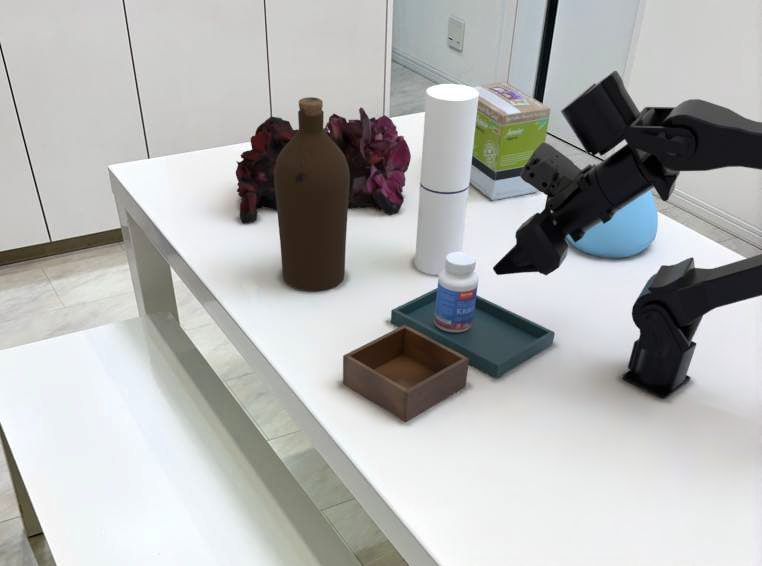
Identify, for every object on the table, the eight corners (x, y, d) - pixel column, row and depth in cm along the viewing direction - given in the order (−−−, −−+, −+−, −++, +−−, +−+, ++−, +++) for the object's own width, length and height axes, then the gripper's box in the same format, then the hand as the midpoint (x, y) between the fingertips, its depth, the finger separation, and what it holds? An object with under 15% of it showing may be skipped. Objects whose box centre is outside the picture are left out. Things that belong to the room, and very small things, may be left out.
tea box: (449, 171, 162) (457, 86, 152) (495, 163, 165) (506, 79, 155) (491, 202, 152) (502, 113, 142) (539, 193, 155) (553, 105, 145)
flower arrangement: (247, 234, 141) (240, 139, 131) (223, 187, 155) (215, 97, 144) (424, 213, 148) (431, 121, 138) (387, 170, 162) (391, 83, 151)
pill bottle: (457, 338, 118) (465, 271, 111) (426, 324, 121) (431, 258, 114) (480, 323, 121) (488, 257, 114) (449, 310, 124) (455, 245, 117)
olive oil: (355, 290, 129) (359, 111, 111) (285, 297, 127) (278, 117, 109) (339, 257, 136) (340, 85, 118) (273, 264, 134) (264, 90, 116)
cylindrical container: (407, 268, 134) (417, 95, 116) (426, 250, 138) (439, 80, 121) (449, 279, 131) (466, 104, 114) (467, 260, 136) (486, 89, 119)
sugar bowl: (543, 228, 145) (555, 157, 137) (619, 216, 149) (635, 146, 141) (590, 267, 135) (607, 194, 127) (671, 253, 139) (692, 181, 131)
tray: (552, 345, 118) (555, 332, 117) (496, 378, 112) (498, 365, 111) (447, 294, 128) (449, 281, 127) (390, 322, 122) (391, 309, 120)
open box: (465, 386, 111) (469, 358, 108) (405, 422, 105) (407, 393, 102) (402, 352, 116) (404, 324, 113) (342, 383, 111) (342, 355, 108)
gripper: (592, 102, 104) (494, 178, 115) (547, 153, 92) (442, 232, 103) (642, 180, 107) (541, 247, 118) (604, 239, 95) (496, 307, 106)
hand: (507, 256), depth 111 cm, fingers open, 9 cm apart
